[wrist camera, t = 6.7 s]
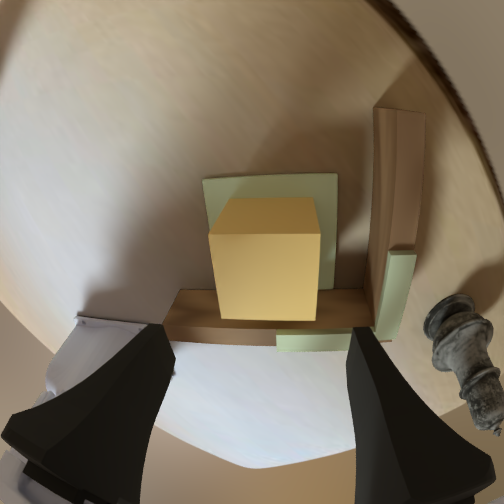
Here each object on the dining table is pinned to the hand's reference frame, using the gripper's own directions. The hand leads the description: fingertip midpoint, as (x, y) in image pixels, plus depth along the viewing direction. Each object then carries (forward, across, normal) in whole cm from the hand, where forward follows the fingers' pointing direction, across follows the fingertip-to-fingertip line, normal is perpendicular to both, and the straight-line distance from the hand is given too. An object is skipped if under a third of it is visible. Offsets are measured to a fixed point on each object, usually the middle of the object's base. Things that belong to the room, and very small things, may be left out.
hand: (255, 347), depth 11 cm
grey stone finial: (+10, -15, +8) cm, 20 cm away
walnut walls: (+9, 0, -1) cm, 9 cm away
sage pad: (+9, 0, 0) cm, 9 cm away
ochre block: (+9, 0, 0) cm, 9 cm away
